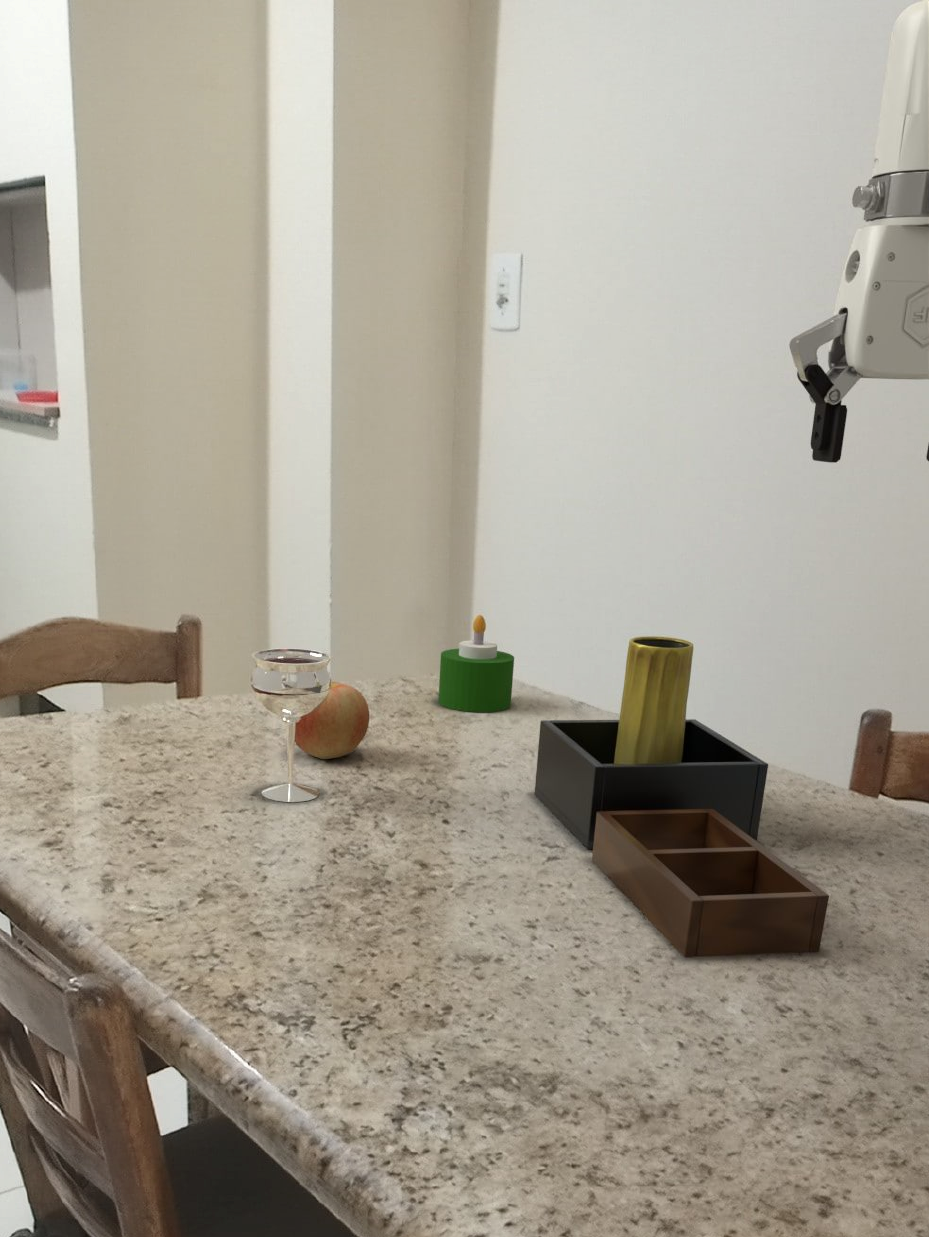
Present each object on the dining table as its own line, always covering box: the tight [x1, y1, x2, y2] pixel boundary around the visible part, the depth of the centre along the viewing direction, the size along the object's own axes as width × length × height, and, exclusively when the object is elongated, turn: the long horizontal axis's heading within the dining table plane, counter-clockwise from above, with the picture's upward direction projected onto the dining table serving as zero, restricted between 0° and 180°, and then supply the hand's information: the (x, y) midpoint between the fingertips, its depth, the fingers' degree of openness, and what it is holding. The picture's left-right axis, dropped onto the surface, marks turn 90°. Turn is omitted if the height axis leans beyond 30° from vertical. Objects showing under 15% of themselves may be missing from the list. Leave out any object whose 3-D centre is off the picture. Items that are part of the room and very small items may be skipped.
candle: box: [437, 614, 515, 713], centre depth 146 cm, size 8×8×10 cm
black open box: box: [534, 718, 769, 850], centre depth 110 cm, size 15×15×7 cm
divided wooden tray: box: [591, 809, 830, 958], centre depth 93 cm, size 10×18×4 cm, turn 12°
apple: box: [295, 681, 370, 760], centre depth 124 cm, size 8×8×8 cm
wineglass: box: [250, 647, 332, 803], centre depth 111 cm, size 7×7×12 cm
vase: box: [614, 635, 694, 764], centre depth 108 cm, size 6×6×14 cm
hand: (883, 462), depth 99 cm, fingers open, 9 cm apart
